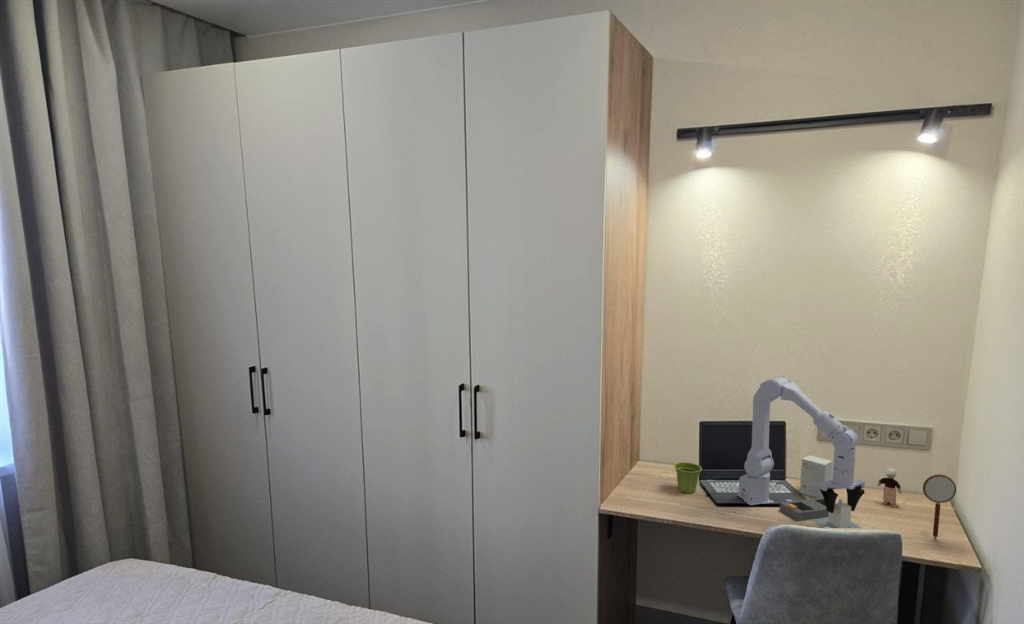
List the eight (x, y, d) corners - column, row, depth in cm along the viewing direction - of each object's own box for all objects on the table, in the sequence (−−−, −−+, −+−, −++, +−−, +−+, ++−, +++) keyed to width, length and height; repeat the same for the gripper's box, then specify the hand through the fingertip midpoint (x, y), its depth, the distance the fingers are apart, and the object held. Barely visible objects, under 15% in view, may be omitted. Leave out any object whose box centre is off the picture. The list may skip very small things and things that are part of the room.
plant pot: (706, 494, 208) (707, 470, 207) (682, 496, 205) (683, 472, 204) (690, 484, 217) (692, 461, 216) (668, 486, 214) (669, 463, 213)
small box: (830, 496, 207) (833, 461, 206) (822, 501, 203) (825, 464, 202) (807, 489, 214) (809, 454, 212) (799, 493, 210) (801, 458, 208)
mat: (834, 536, 178) (834, 534, 178) (811, 521, 188) (811, 519, 187) (868, 532, 180) (868, 531, 180) (843, 518, 190) (843, 517, 190)
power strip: (797, 523, 187) (798, 511, 186) (779, 513, 194) (780, 501, 194) (847, 516, 192) (848, 504, 192) (828, 506, 200) (829, 495, 200)
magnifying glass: (920, 538, 177) (925, 474, 175) (917, 536, 179) (923, 472, 177) (952, 542, 175) (958, 477, 173) (949, 539, 177) (955, 475, 175)
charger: (839, 529, 181) (841, 503, 181) (827, 522, 186) (829, 497, 185) (849, 528, 182) (851, 502, 181) (837, 521, 187) (839, 496, 186)
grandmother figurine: (902, 505, 201) (905, 469, 199) (900, 509, 198) (903, 472, 197) (876, 499, 206) (879, 464, 205) (874, 502, 203) (876, 466, 202)
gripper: (832, 474, 177) (829, 518, 178) (873, 471, 180) (870, 514, 181) (816, 466, 184) (813, 508, 185) (855, 463, 187) (852, 504, 188)
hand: (840, 510), depth 183 cm, fingers open, 7 cm apart
